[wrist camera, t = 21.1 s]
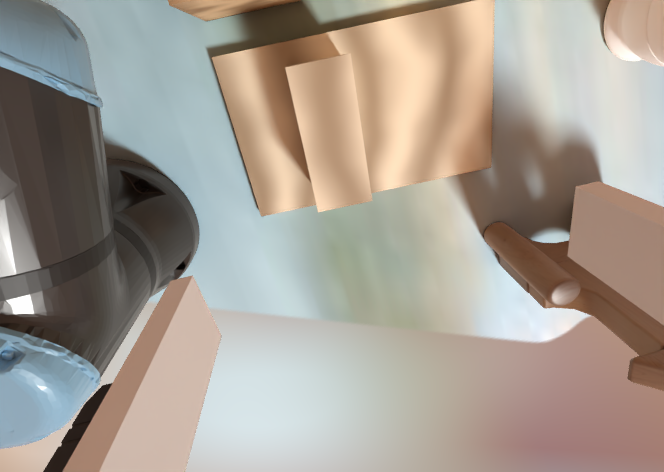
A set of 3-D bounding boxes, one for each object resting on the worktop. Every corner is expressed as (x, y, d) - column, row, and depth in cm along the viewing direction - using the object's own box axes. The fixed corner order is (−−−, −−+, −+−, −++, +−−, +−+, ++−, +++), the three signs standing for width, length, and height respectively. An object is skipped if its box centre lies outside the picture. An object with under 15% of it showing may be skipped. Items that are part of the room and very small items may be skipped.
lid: (262, 211, 40) (254, 245, 33) (215, 57, 33) (190, 56, 25) (484, 163, 40) (528, 187, 32) (486, -2, 33) (543, -20, 25)
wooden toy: (606, 186, 42) (955, 327, 20) (603, 233, 45) (903, 401, 23) (481, 225, 43) (679, 403, 21) (486, 269, 46) (664, 464, 24)
